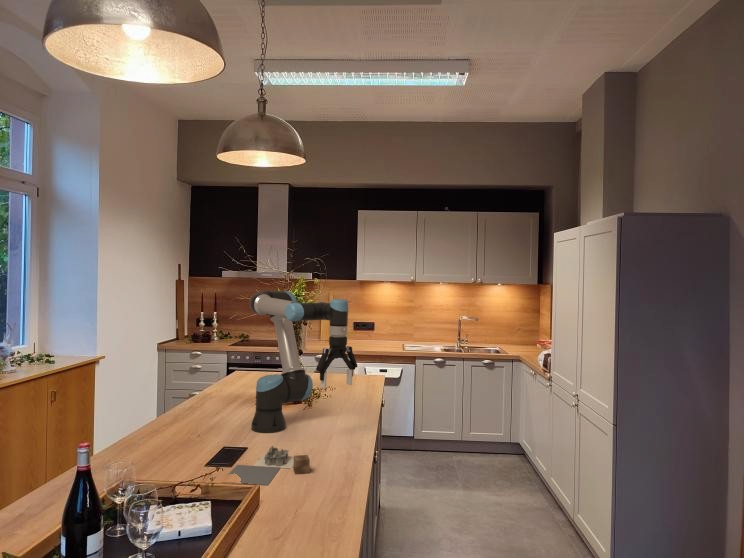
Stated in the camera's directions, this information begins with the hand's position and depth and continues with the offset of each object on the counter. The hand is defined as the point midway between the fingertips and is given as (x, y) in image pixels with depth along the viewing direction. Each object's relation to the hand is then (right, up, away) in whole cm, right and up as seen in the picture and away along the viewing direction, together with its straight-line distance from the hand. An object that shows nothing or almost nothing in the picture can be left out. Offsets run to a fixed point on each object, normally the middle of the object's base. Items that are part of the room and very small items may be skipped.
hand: (336, 386), depth 222 cm
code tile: (-20, -23, -26) cm, 40 cm away
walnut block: (-10, -23, -35) cm, 43 cm away
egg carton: (-20, -23, -26) cm, 40 cm away
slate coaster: (-27, -23, -40) cm, 53 cm away
